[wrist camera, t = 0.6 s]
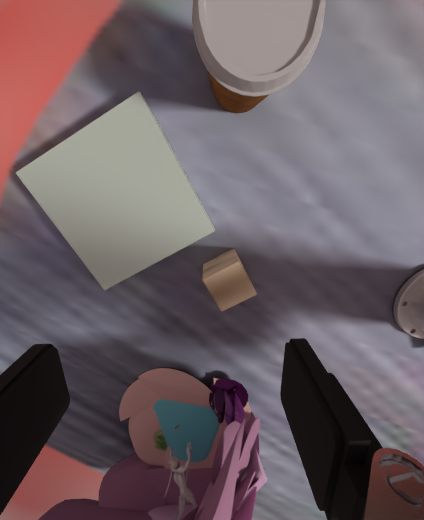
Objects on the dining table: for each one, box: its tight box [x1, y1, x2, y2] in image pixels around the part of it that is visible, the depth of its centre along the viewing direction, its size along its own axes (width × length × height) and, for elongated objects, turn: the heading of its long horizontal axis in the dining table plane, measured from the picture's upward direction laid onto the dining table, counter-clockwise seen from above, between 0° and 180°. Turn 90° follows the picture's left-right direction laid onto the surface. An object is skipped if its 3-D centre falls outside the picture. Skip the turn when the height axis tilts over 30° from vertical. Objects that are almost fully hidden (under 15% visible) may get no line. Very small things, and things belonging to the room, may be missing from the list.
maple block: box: [202, 248, 257, 312], centre depth 31 cm, size 5×5×6 cm
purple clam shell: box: [39, 368, 267, 520], centre depth 30 cm, size 35×24×28 cm
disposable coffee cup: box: [192, 0, 326, 113], centre depth 21 cm, size 10×10×12 cm
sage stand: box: [16, 91, 215, 290], centre depth 29 cm, size 17×17×3 cm
